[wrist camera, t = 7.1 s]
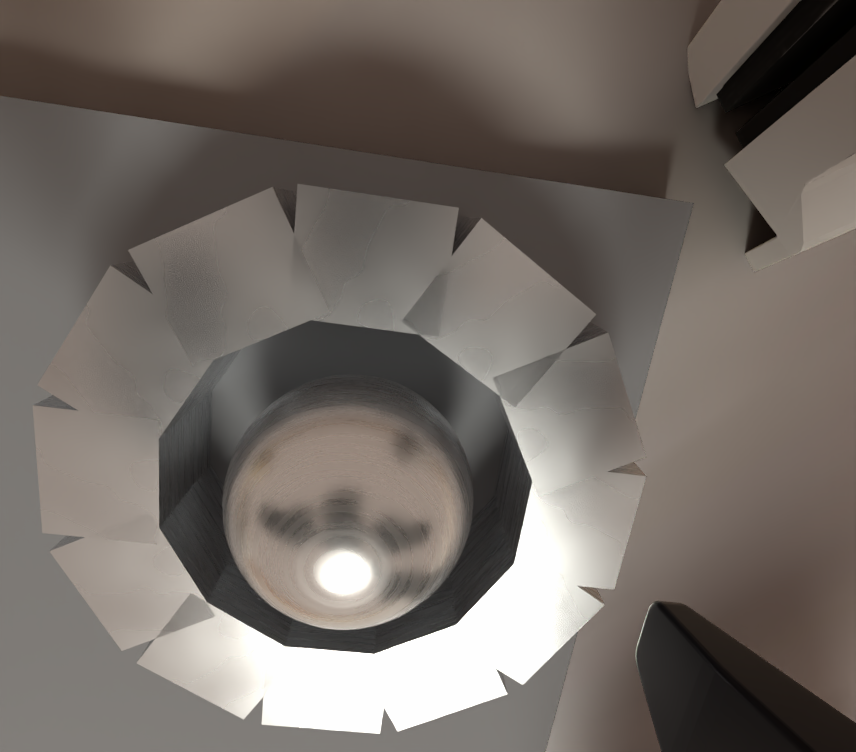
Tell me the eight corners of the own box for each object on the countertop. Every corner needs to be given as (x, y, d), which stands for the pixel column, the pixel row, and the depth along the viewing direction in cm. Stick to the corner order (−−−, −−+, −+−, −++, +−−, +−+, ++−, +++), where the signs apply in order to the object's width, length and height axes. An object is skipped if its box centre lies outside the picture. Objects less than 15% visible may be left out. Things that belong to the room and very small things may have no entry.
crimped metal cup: (540, 654, 14) (568, 747, 11) (121, 616, 13) (55, 709, 10) (644, 238, 11) (712, 245, 8) (108, 158, 10) (12, 140, 7)
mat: (525, 751, 16) (534, 792, 15) (-218, 695, 15) (-272, 736, 13) (665, 204, 12) (693, 203, 10) (-391, 41, 10) (-493, 19, 9)
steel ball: (442, 539, 13) (467, 703, 8) (253, 523, 12) (178, 686, 8) (473, 361, 11) (520, 448, 7) (263, 336, 11) (181, 412, 7)
